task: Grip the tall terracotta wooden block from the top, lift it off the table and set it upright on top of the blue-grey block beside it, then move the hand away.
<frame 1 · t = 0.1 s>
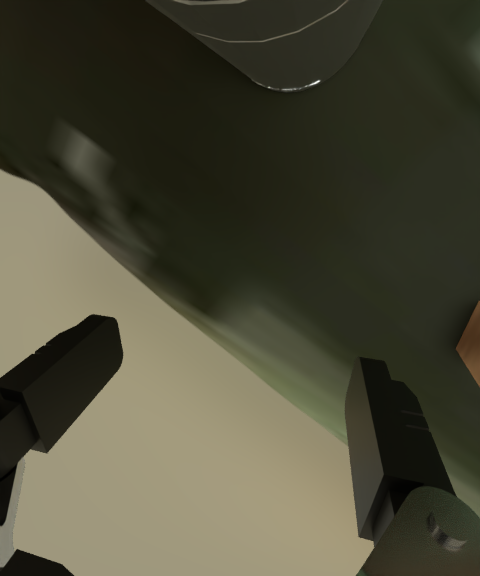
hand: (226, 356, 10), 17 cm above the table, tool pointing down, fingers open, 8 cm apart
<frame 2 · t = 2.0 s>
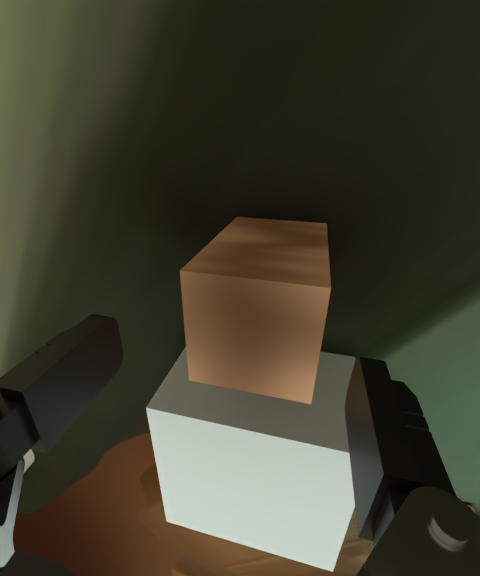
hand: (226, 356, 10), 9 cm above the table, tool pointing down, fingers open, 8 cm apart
terracotta block: (277, 261, 18), on the table
cylindrical container: (10, 443, 37), on the table
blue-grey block: (266, 401, 23), on the table
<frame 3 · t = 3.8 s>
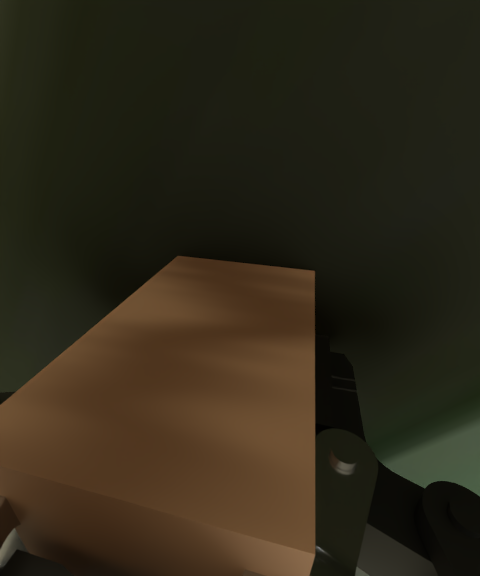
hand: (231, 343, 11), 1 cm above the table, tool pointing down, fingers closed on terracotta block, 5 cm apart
terracotta block: (241, 321, 12), on the table, touching gripper
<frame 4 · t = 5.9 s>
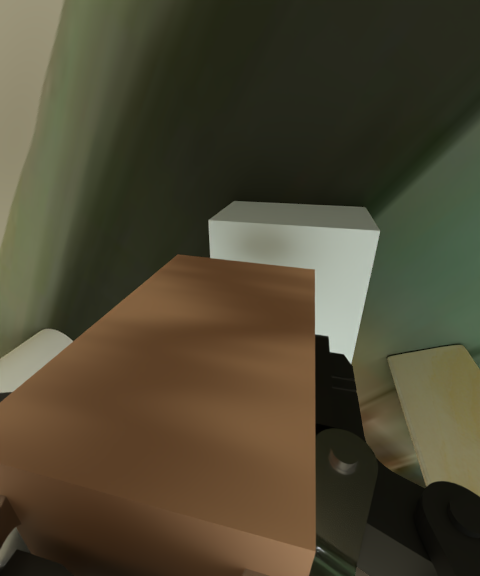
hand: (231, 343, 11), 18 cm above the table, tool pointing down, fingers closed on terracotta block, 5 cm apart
terracotta block: (241, 320, 12), point 17 cm above the table, touching gripper
cylindrical container: (59, 349, 42), on the table
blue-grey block: (291, 263, 28), on the table
tall beige block: (434, 378, 30), on the table
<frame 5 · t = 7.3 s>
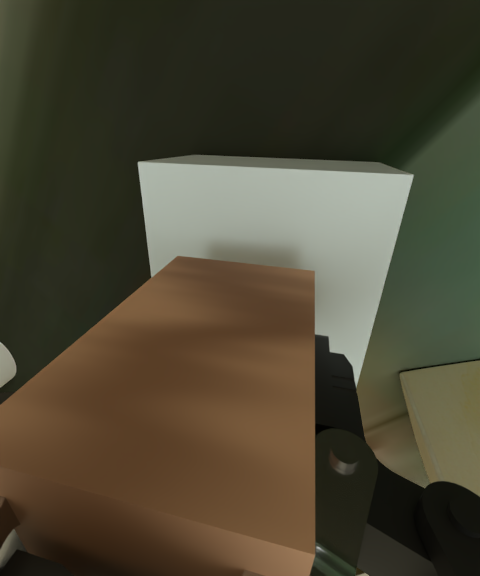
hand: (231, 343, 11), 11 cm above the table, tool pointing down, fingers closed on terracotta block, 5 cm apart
terracotta block: (241, 321, 12), point 10 cm above the table, touching gripper
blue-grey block: (274, 245, 20), on the table
tall beige block: (459, 401, 23), on the table
when the fingers open (10 cm above the table, at t = 8.4 s): terracotta block drops 1 cm, resting on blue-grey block.
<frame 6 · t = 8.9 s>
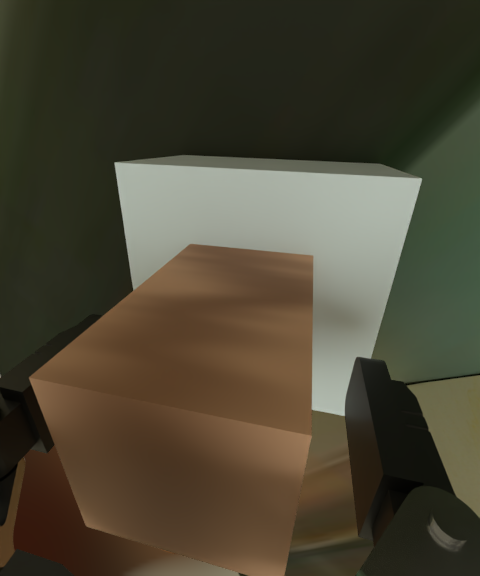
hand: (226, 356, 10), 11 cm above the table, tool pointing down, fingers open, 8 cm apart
terracotta block: (247, 303, 13), point 7 cm above the table, touching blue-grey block
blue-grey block: (268, 252, 19), on the table
tall beige block: (464, 416, 22), on the table
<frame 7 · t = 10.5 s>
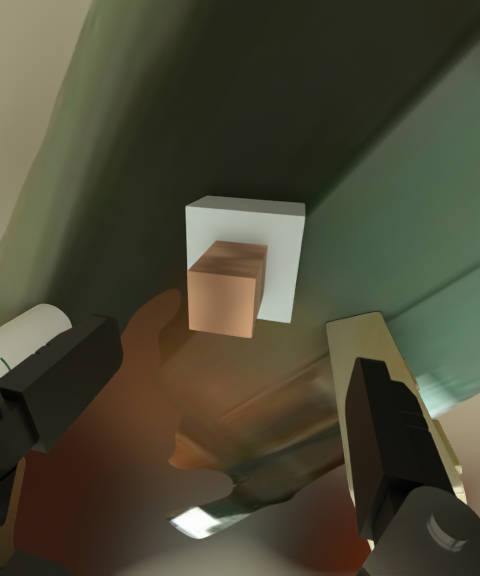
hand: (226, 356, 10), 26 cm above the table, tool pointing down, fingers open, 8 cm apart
terracotta block: (240, 267, 29), point 7 cm above the table, touching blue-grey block
cylindrical container: (52, 322, 47), on the table
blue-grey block: (251, 246, 36), on the table
tall beige block: (361, 340, 38), on the table
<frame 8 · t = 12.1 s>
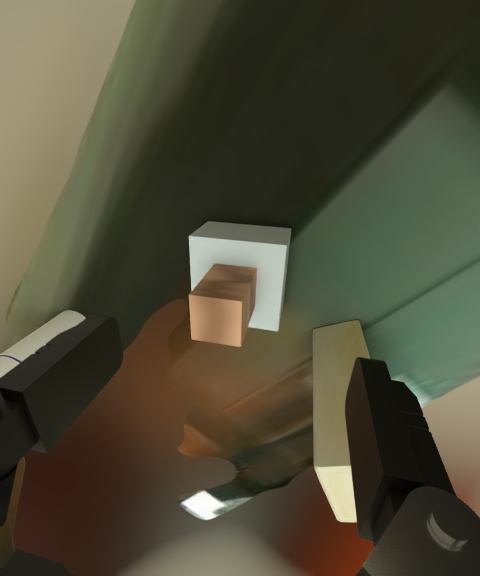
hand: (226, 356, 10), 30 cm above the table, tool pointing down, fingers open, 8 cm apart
terracotta block: (235, 285, 35), point 7 cm above the table, touching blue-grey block
cylindrical container: (76, 326, 54), on the table
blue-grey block: (247, 264, 41), on the table
tall beige block: (344, 344, 44), on the table
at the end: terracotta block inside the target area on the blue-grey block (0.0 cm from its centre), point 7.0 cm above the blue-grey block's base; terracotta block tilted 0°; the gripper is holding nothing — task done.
